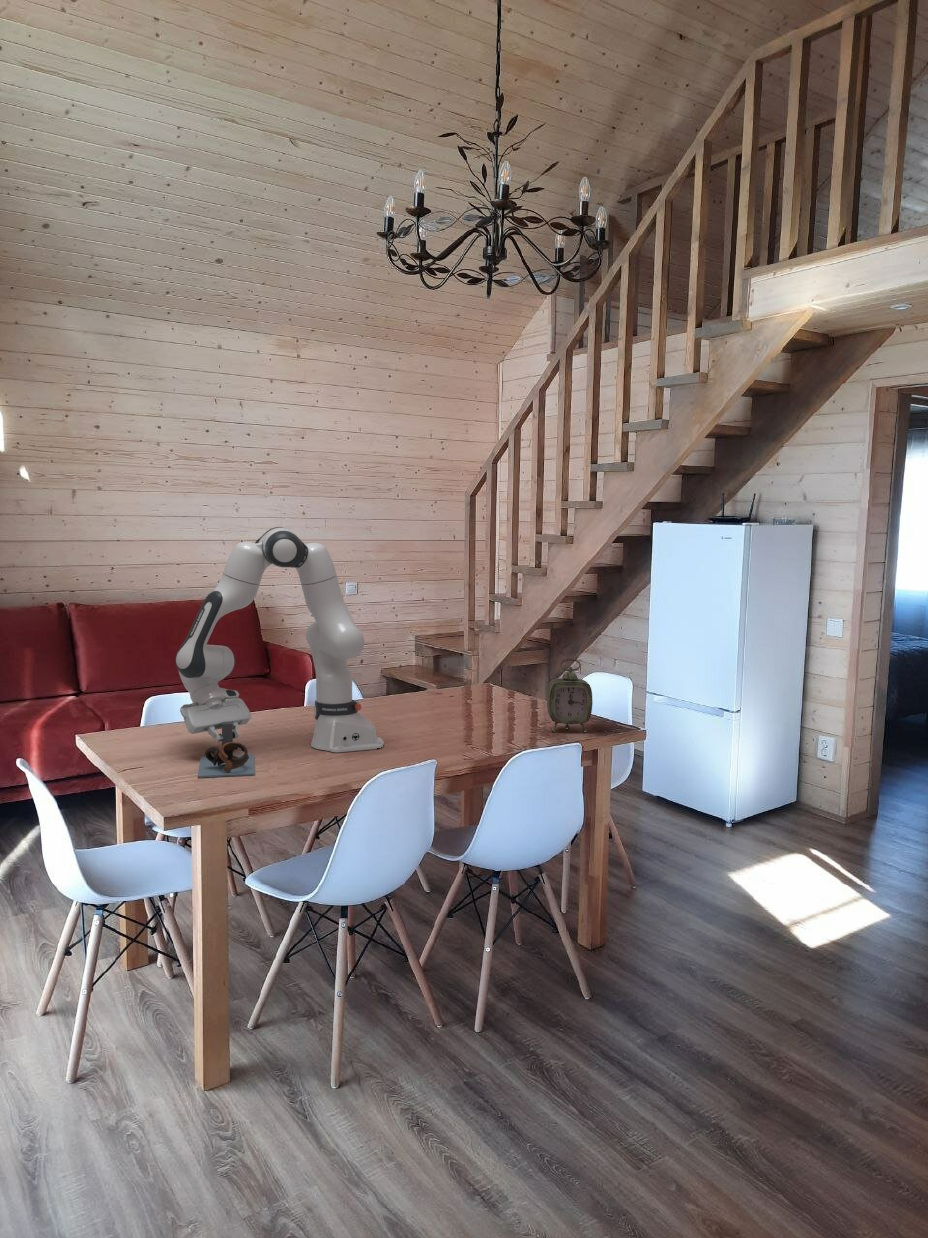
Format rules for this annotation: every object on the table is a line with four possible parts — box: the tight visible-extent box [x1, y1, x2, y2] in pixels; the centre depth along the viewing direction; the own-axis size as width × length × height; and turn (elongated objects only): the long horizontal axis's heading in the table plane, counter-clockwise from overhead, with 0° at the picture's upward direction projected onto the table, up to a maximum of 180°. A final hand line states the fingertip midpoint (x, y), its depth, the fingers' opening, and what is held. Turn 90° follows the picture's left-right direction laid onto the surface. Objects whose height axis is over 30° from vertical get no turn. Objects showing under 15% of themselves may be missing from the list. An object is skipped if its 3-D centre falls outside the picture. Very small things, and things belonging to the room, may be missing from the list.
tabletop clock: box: [546, 658, 594, 733], centre depth 305 cm, size 14×9×25 cm, turn 92°
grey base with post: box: [197, 721, 256, 779], centre depth 254 cm, size 15×21×10 cm
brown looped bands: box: [204, 741, 249, 773], centre depth 250 cm, size 12×10×8 cm
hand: (228, 739), depth 262 cm, fingers closed on grey base with post, 4 cm apart
